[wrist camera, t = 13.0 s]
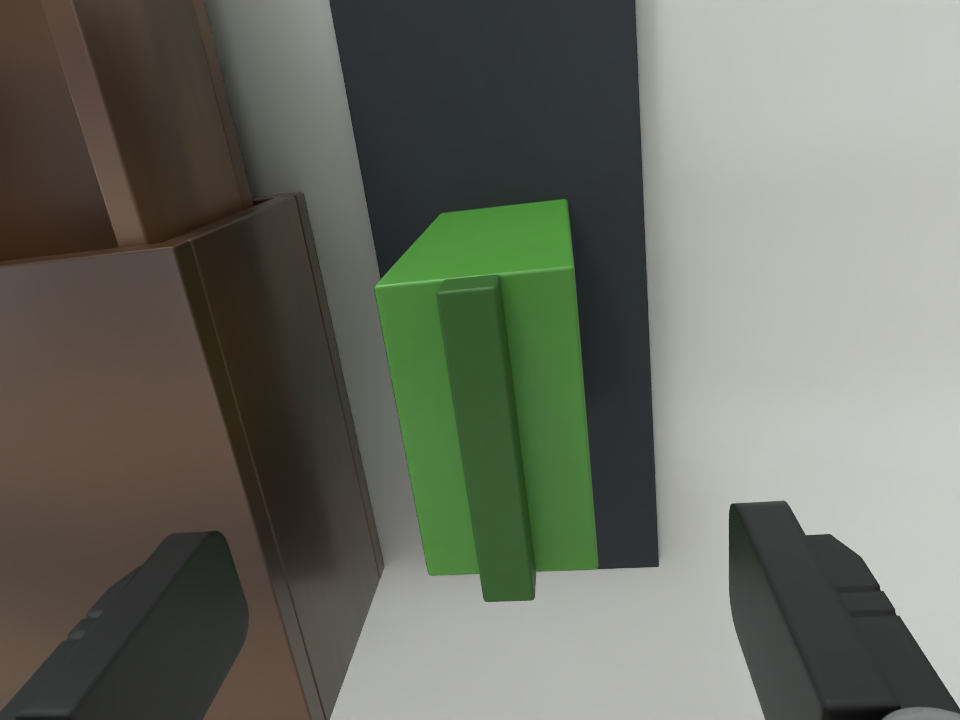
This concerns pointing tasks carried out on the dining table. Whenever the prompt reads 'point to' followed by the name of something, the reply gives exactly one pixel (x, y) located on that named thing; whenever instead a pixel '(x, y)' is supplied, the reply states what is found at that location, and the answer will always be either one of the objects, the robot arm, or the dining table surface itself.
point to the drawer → (111, 126)
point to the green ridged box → (493, 395)
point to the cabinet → (185, 447)
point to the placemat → (524, 183)
